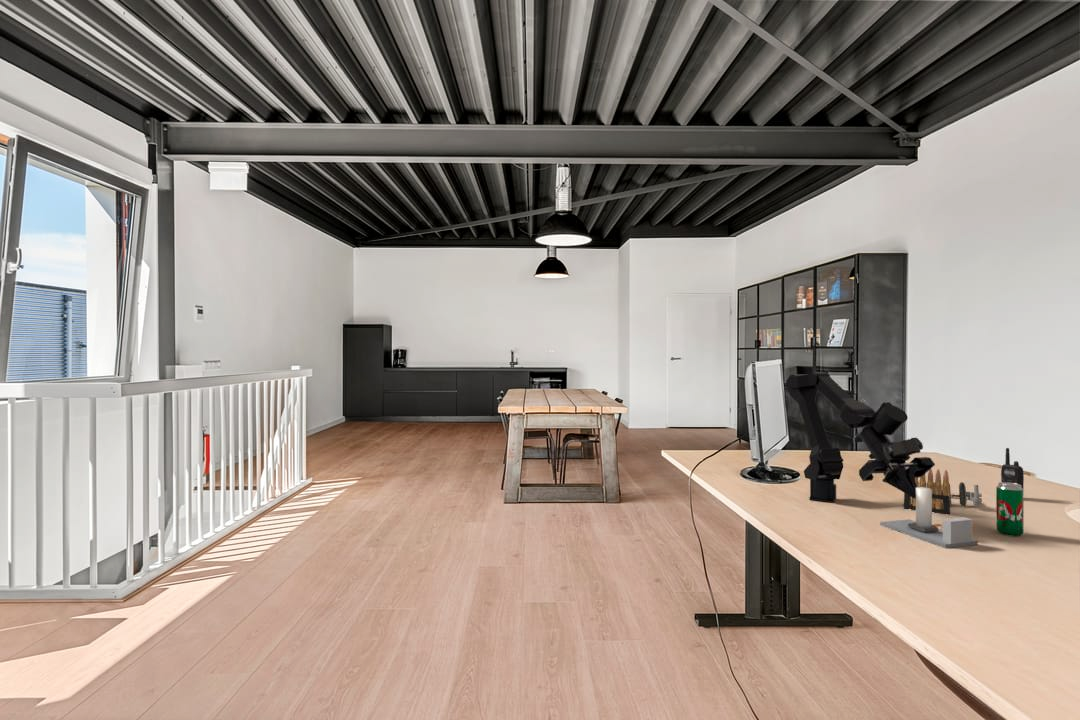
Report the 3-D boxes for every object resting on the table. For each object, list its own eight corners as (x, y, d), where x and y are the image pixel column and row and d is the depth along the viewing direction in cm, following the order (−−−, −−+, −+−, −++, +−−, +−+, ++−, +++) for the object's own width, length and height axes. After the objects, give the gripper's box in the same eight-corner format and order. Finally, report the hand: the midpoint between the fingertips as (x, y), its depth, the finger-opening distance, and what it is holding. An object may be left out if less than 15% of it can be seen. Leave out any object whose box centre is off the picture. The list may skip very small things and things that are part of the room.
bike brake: (988, 509, 156) (972, 503, 174) (987, 484, 157) (970, 481, 175) (929, 505, 162) (918, 500, 180) (927, 480, 163) (917, 478, 181)
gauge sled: (908, 526, 140) (908, 486, 140) (931, 524, 141) (931, 485, 141) (924, 532, 135) (924, 491, 135) (948, 529, 137) (948, 489, 137)
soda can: (1017, 531, 139) (1017, 482, 139) (1027, 537, 134) (1027, 486, 134) (992, 529, 140) (992, 481, 140) (1001, 535, 136) (1001, 485, 136)
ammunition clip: (950, 513, 155) (950, 469, 155) (950, 515, 154) (950, 470, 154) (904, 507, 161) (903, 465, 161) (903, 509, 160) (903, 466, 160)
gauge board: (880, 525, 145) (880, 502, 145) (909, 522, 147) (909, 500, 147) (945, 548, 127) (945, 522, 127) (977, 544, 129) (977, 519, 129)
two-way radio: (998, 496, 173) (998, 447, 172) (1006, 495, 174) (1006, 446, 174) (1020, 501, 168) (1020, 450, 167) (1028, 499, 169) (1028, 449, 169)
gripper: (867, 428, 142) (905, 481, 132) (928, 425, 147) (969, 476, 136) (843, 454, 150) (878, 506, 139) (902, 451, 154) (939, 501, 144)
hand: (916, 497), depth 139 cm, fingers closed, pressing on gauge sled
